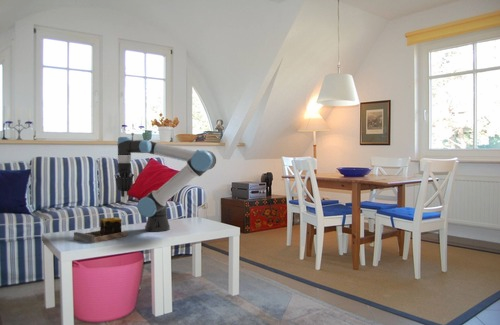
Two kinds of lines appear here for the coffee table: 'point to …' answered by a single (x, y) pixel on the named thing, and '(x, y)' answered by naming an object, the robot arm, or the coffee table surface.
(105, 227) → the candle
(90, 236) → the bay
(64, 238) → the coffee table surface
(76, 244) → the coffee table surface
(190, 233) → the coffee table surface
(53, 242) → the coffee table surface
